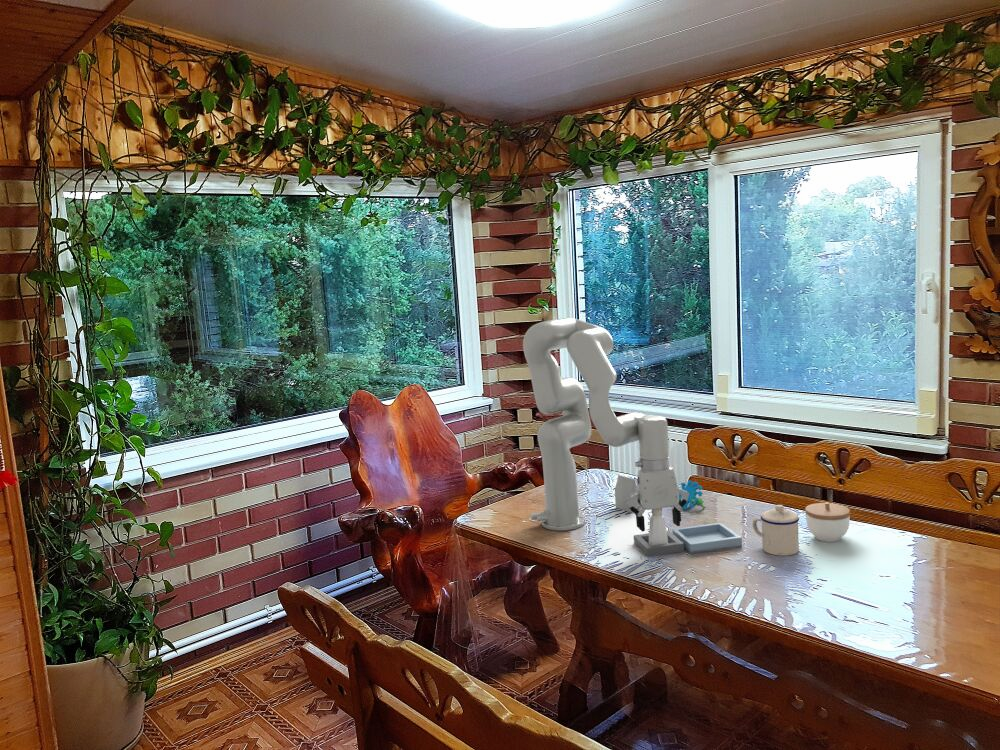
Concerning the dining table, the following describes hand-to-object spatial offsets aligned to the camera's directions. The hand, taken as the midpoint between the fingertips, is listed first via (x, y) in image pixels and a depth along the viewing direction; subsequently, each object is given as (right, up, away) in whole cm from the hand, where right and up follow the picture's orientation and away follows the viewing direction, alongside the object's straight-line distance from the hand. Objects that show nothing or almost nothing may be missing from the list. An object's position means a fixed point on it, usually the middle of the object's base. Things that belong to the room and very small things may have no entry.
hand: (659, 527), depth 199 cm
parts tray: (+13, -4, +2) cm, 14 cm away
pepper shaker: (0, -6, +1) cm, 6 cm away
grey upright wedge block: (-3, -1, +34) cm, 34 cm away
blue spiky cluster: (+16, 0, +31) cm, 34 cm away
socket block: (0, -6, +1) cm, 6 cm away
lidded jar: (+44, -3, -1) cm, 44 cm away
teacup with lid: (+28, -5, -5) cm, 29 cm away
